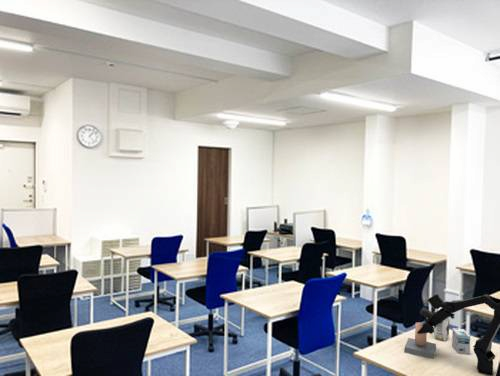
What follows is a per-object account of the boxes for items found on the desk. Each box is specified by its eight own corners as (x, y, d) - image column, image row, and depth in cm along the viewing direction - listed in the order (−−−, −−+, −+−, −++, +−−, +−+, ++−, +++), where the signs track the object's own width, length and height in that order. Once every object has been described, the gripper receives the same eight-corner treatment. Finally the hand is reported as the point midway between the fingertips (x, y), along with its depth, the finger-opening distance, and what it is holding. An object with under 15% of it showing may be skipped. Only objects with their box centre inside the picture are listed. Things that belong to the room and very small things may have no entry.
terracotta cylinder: (426, 342, 223) (427, 323, 223) (425, 346, 218) (426, 327, 217) (415, 340, 226) (416, 321, 226) (414, 343, 221) (414, 324, 221)
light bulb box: (470, 354, 218) (470, 336, 218) (457, 353, 219) (457, 334, 219) (463, 346, 229) (464, 328, 228) (451, 345, 230) (452, 327, 230)
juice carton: (432, 338, 239) (433, 308, 238) (436, 334, 246) (437, 305, 245) (446, 342, 234) (447, 311, 234) (449, 337, 241) (450, 307, 240)
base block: (435, 348, 225) (436, 343, 225) (433, 359, 212) (433, 353, 212) (408, 342, 232) (408, 337, 232) (404, 352, 219) (404, 347, 219)
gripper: (431, 299, 227) (410, 314, 233) (427, 308, 211) (405, 324, 217) (445, 315, 223) (424, 330, 229) (443, 326, 207) (420, 341, 213)
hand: (418, 331), depth 222 cm, fingers closed on terracotta cylinder, 6 cm apart
